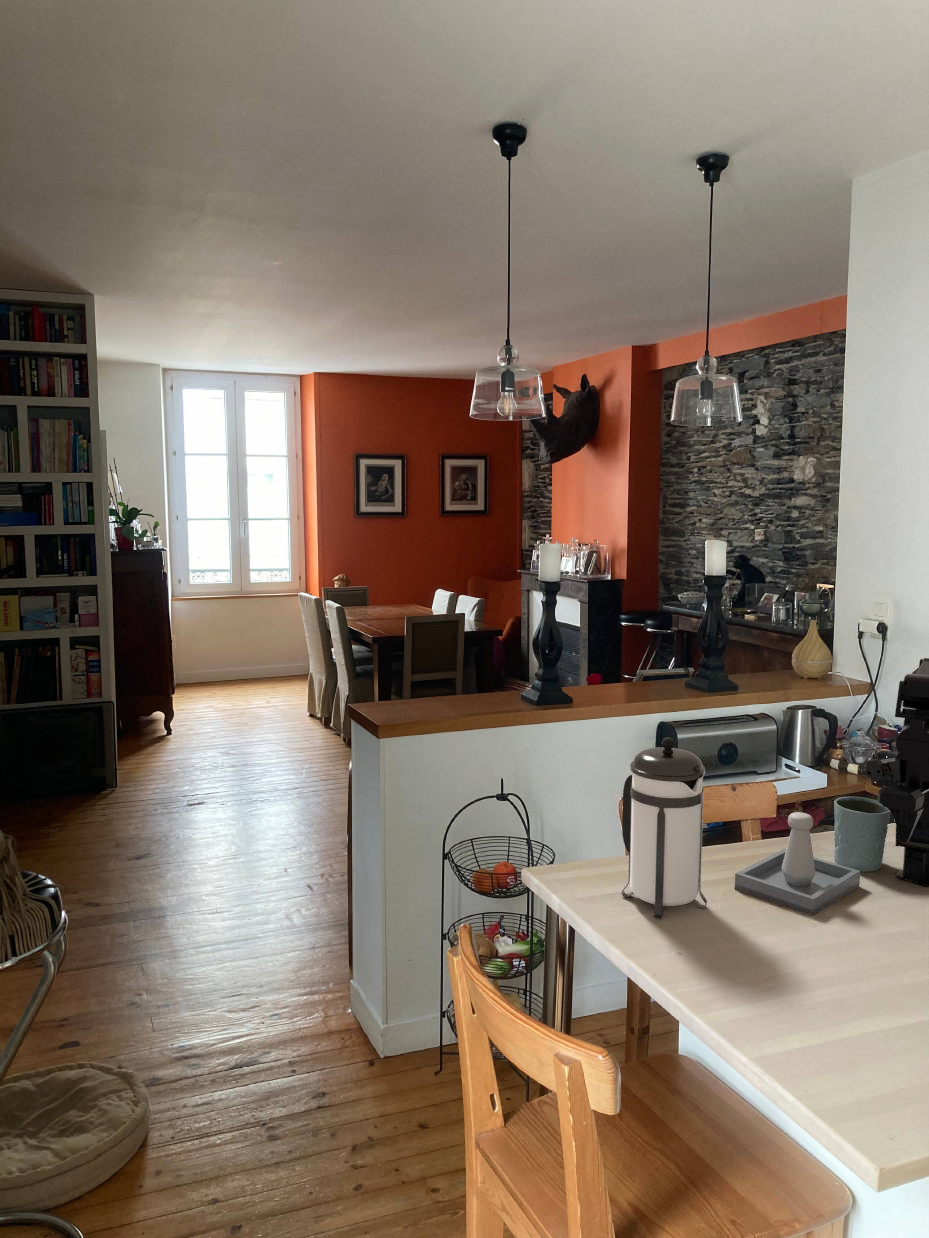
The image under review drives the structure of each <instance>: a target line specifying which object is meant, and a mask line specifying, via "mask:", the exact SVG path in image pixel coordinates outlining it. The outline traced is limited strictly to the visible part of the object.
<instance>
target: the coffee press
mask: <svg viewBox="0 0 929 1238" xmlns="http://www.w3.org/2000/svg"><path fill="white" fill-rule="evenodd" d="M660 744H661V746H662V747H660V746H659V747H651V748H650V747H649V748H646V749H643V750H641V751H640V752H638V753H637V754H636V755H635V756H634V758H633V760H632V761H631V762H630V767H629V768H630V772H631V774H630V775H629V776H627V778H626V779H625V781H624V784H623V790H622V792H623V793H622V812H621V813H622V815H621V816H622V817H621V818H622V821H621V826H622V829H621V832H622V833H621V834H622V841H623V844H624V846H625V850H626V851H627V853H628V882H627V884H626V885H624V887H623V889H622V891H621V895H622V897H623V898H625V897H628V898H629V897H631V896H633V895H634V896H636V897H637V898H639V899H640V900H641V901H644V902H646V903H649V904H652V905H654V907H653V918H658V919H663V913H664V907H675V906H677V907H678V906H683V905H686V904H689V903H691V902H692V903H694V904H695V905H696V906H697V907H698V908H699V909H701V910H705V909H706V908H707V904H708V900H707V898H706V896H704V894H703V892H702V858H703V857H702V855H703V854H702V853H703V851H702V850H703V827H704V826H703V825H704V824H703V823H704V822H703V821H704V819H703V818H704V793H705V792H704V791H705V790H704V789H705V788H704V787H703V779H704V776H705V775H706V767H705V766H704V764H703V762H702V760H701V759H700V758H699V757H698V756H697V754H695V753H693V752H691V751H688V750H686V749H681V748H676V747H675V745H676V742H675V740H674V739H673V738H672V737H670V736H669V737H668V736H666V737H664V738H663V739H662V741H661V743H660ZM628 885H629V886H630V889H631V892H630V893H626V892H625V890H626V888H627V887H628ZM698 894H699V897H700V898H701V900H702V901H703V902H704V903H705V904H701V903H700V902H699V901H698V900H697V899H696V898H697V897H698Z"/></svg>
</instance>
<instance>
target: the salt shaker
mask: <svg viewBox="0 0 929 1238" xmlns="http://www.w3.org/2000/svg"><path fill="white" fill-rule="evenodd" d="M787 818H788V819H787V824H788V826H789V827H791V829H790V833H789V837H788V841H787V846H786V848H785V849H786V852H785V856H784V860H783V864H782V872H783V874H784V877H785V880H786V882H787V883H788V884H790V885H793V886H797V887H806V886H808V885H810V883H811V881H812V879H813V877H814V876H815V866H814V859H813V857H814V853H813V846H812V844H813V843H812V839H811V838H812V837H811V831H810V830H811V829H812V828H813V826H814V819H813V817H812V816H811V815H810V814H808V813H806V812H801V811H800V812H797V811H795V812H792V813H790V814H789V815H788V817H787Z"/></svg>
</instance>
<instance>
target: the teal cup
mask: <svg viewBox="0 0 929 1238" xmlns="http://www.w3.org/2000/svg"><path fill="white" fill-rule="evenodd" d="M833 802H834V803H833V805H834V806H833V809H834V828H833V829H834V856H833V857H834V862H835V864H838V865H842V866H845V867H849V868H852V869H855V870H859V871H860V872H866V873H867V872H876V871H879V870H880V869H881V867H882V865H883V857H884V852H885V851H884V850H885V848H886V845H885V844H886V838H887V833H888V829H889V827H888V826H889V822H890V819H891V814H892V812H891V811H890V810H889V809H888V808H886V807H884V806H883V805H882V804H881V803H879V802H878V800H876V799H873V798H868V797H862V796H861V797H860V796H842V797H838V798H836V799H834V801H833ZM878 869H879V870H878Z"/></svg>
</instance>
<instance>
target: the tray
mask: <svg viewBox="0 0 929 1238" xmlns="http://www.w3.org/2000/svg"><path fill="white" fill-rule="evenodd" d="M785 852H786V848H783V849H780V850H778V851H776V852H775V853H773V854H771V855H769V856H767V857H765V858H763V859H761V860H759V861H757V862H755V863H753V864H751V865H749V866H747V867H745V868H743V869H741V870H739V871H738V872H735V873H734V889H735V890H736V891H739V892H741V893H742V892H743V893H746V894H748V895H752V896H754V897H756V898H759V899H762V900H765V901H769V902H770V903H774V904H777V905H780V906H783V907H786V908H789V909H792V910H793V911H794V910H795V911H798V912H801V913H803V914H805V915H809V916H814V915H816V914H818V913H819V912H821V911H823V910H824V909H826V908H827V907H830V906H831V905H832V904H834V903H835V902H837V901H839V900H840V899H842V898H843V897H845V896H846V895H848V894H850V893H851V892H853V891H854V890H856V889H858V888H860V881H861V871H859V870H855V869H852V868H849V867H845V866H842V865H838V864H837V863H836V862H835V863H834V862H832V861H827V860H825V859H821V858H818V857H815V856H813V859H814V866H815V876H814V877H813V879H812V881H811V883H810V885H808V886H806V887H797V886H793V885H790V884H788V883H787V882H786V880H785V877H784V874H783V872H782V864H783V860H784V856H785Z"/></svg>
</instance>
